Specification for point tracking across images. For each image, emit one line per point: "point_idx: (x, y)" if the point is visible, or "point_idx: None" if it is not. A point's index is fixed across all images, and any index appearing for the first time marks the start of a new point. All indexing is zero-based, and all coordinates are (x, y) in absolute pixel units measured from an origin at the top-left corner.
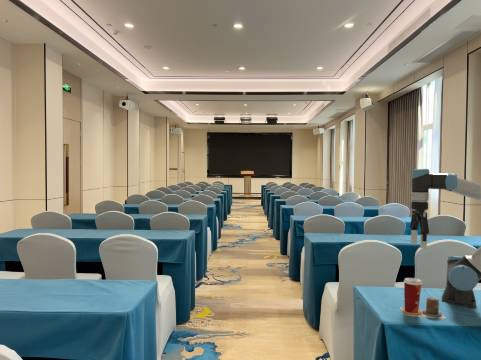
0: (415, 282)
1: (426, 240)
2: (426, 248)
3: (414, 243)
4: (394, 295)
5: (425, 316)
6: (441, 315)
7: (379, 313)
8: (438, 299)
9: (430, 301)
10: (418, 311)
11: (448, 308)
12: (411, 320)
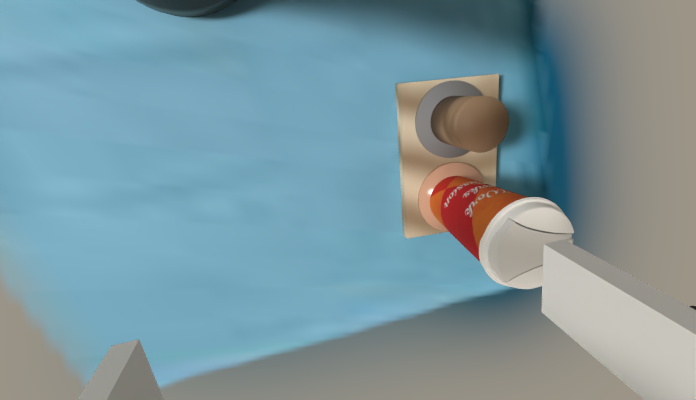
0: (570, 237)
1: (676, 308)
2: (563, 242)
3: (152, 373)
4: (177, 244)
5: (488, 151)
6: (472, 86)
7: (456, 296)
8: (482, 97)
9: (499, 138)
10: (451, 173)
11: (302, 12)
12: None
